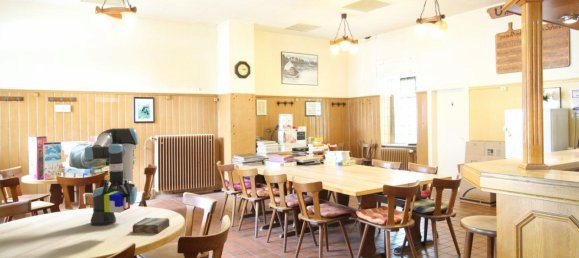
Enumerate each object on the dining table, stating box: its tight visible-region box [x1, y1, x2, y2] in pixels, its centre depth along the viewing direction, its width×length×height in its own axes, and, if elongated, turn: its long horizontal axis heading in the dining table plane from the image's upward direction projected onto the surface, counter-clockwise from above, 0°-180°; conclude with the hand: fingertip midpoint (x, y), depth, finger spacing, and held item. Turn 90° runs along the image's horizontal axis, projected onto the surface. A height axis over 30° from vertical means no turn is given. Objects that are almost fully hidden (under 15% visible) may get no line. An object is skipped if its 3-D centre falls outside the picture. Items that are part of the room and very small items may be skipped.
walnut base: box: [132, 217, 170, 234], centre depth 247 cm, size 16×16×5 cm
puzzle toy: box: [104, 191, 131, 214], centre depth 237 cm, size 10×10×10 cm
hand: (117, 207), depth 237 cm, fingers closed on puzzle toy, 10 cm apart
